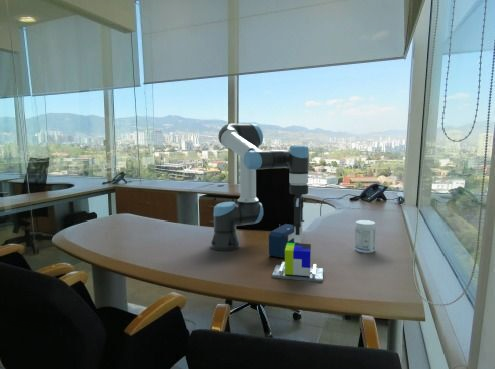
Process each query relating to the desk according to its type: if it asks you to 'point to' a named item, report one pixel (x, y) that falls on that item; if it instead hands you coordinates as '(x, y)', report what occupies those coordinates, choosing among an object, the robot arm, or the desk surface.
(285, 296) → the desk surface
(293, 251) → the puzzle toy
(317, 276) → the rail plate
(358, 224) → the supplement tub
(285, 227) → the radio
